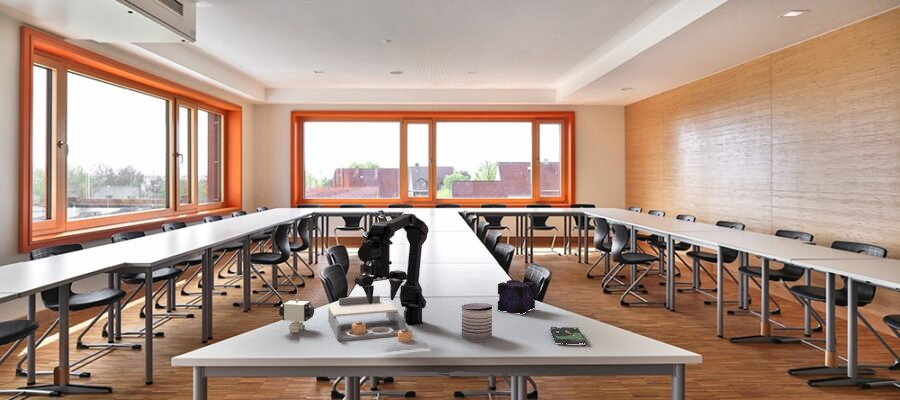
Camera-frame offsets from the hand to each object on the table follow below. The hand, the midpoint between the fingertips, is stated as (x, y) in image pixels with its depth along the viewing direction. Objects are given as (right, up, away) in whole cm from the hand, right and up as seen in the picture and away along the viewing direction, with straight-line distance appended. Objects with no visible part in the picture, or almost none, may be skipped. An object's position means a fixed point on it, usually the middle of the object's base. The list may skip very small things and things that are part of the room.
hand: (381, 301), depth 176 cm
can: (+34, -13, +2) cm, 37 cm away
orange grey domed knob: (-8, -12, 0) cm, 14 cm away
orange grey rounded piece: (+9, -13, -5) cm, 16 cm away
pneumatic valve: (-32, -13, +7) cm, 35 cm away
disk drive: (+66, -14, +1) cm, 68 cm away
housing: (-7, -13, +9) cm, 17 cm away
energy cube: (+53, -12, +41) cm, 69 cm away
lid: (-9, -6, +14) cm, 18 cm away
